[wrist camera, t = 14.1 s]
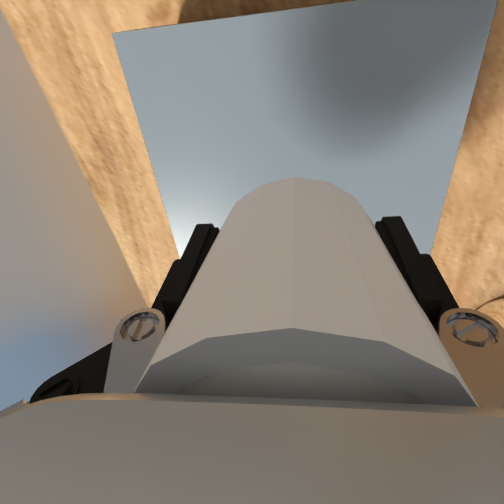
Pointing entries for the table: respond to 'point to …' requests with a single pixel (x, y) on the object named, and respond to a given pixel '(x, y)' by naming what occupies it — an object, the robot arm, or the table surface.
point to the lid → (309, 105)
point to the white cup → (303, 310)
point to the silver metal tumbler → (494, 310)
